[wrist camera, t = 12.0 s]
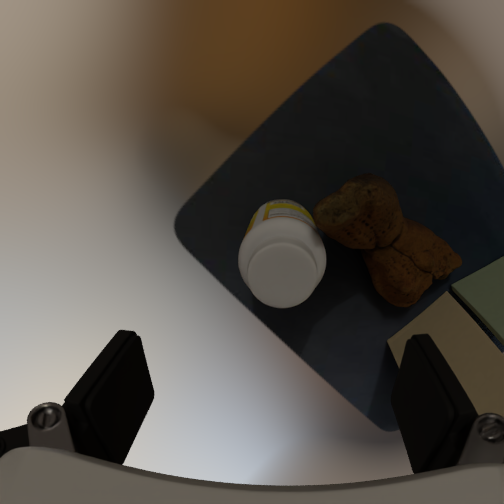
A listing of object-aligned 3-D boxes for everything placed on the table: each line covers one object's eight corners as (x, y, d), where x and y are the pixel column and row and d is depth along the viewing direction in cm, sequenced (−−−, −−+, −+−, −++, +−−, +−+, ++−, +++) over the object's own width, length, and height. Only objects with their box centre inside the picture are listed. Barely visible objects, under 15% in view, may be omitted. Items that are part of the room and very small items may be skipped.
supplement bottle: (269, 271, 29) (262, 335, 19) (237, 217, 27) (212, 258, 18) (326, 242, 27) (347, 295, 18) (296, 185, 26) (303, 209, 16)
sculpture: (398, 153, 14) (491, 339, 17) (382, 124, 22) (463, 262, 26) (276, 233, 18) (396, 380, 22) (305, 178, 27) (393, 299, 30)
